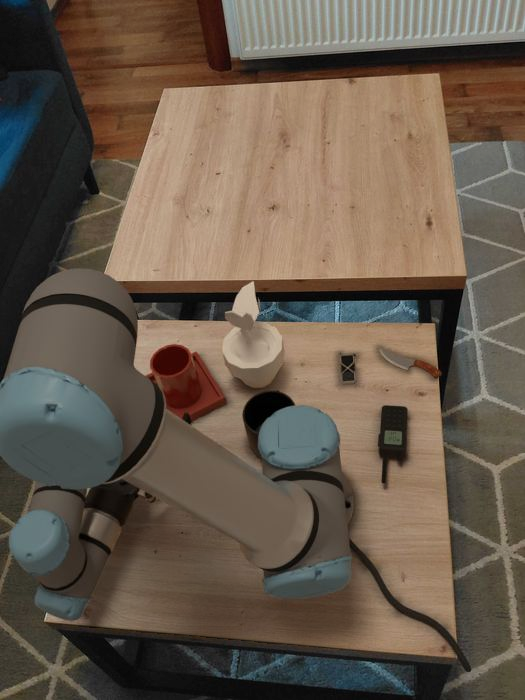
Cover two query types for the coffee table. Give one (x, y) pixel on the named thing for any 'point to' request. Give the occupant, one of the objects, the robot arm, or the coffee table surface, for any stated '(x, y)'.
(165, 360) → the red cup
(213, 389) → the red tray
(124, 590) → the coffee table surface
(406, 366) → the knife
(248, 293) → the potted plant
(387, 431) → the walkie-talkie
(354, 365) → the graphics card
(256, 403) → the mug
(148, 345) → the coffee table surface
